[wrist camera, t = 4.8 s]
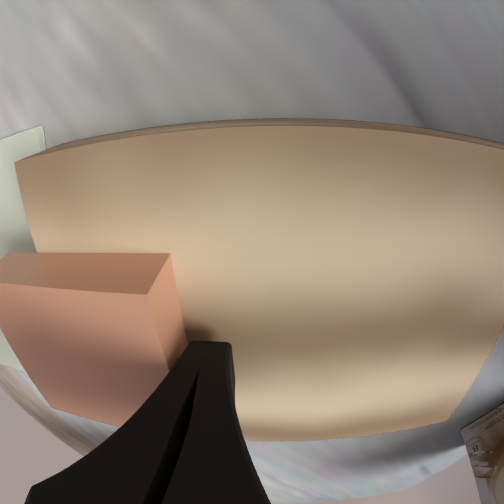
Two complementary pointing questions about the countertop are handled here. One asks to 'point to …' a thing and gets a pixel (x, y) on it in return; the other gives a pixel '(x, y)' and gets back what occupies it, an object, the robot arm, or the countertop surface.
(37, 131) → the placemat
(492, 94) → the countertop surface
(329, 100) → the countertop surface
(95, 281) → the coaster
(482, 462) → the coffee box
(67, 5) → the countertop surface
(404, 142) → the board
